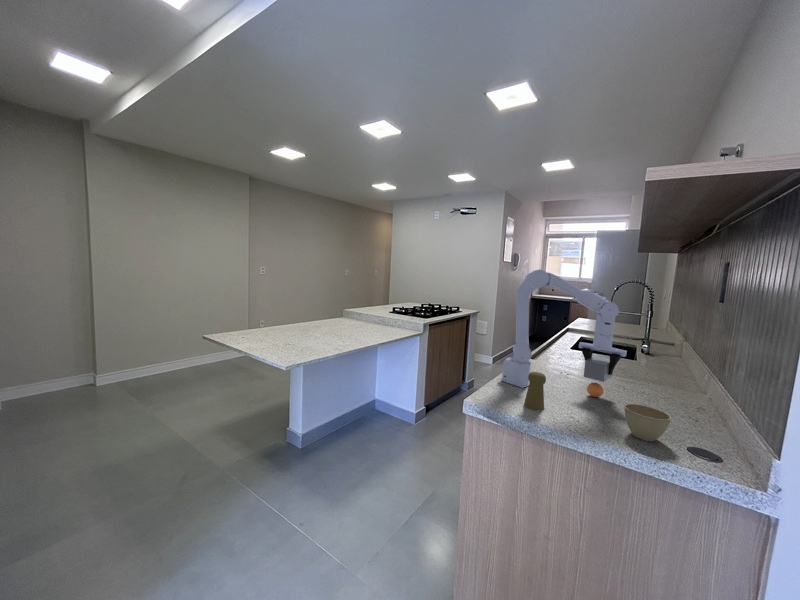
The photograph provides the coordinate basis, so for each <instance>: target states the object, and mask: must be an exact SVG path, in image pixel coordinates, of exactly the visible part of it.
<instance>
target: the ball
mask: <svg viewBox="0 0 800 600" xmlns="http://www.w3.org/2000/svg"><path fill="white" fill-rule="evenodd" d="M586 391H587V394H589V395H590V396H591V397H592V398H593V397H594V398H600V397H601V396H602V395H603V394H604V388H603V386H602V385H601V384H599V382H598V383H597V382H591V383H589V384H588V385H587V388H586Z"/></svg>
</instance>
